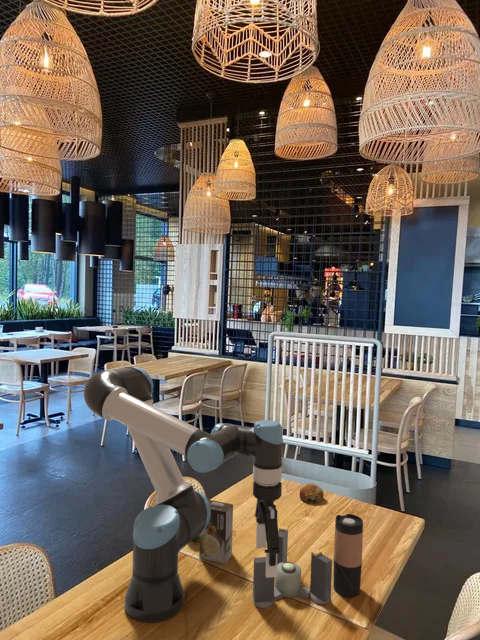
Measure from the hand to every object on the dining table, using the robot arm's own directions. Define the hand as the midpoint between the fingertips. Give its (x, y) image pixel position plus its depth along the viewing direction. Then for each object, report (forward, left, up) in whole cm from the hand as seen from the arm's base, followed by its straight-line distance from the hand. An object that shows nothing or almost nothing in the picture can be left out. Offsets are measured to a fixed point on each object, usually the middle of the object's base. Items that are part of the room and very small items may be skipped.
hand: (265, 561), depth 117 cm
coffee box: (-7, +25, -12) cm, 28 cm away
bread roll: (+42, +56, -12) cm, 71 cm away
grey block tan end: (+10, +12, -11) cm, 19 cm away
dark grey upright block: (0, 0, -11) cm, 11 cm away
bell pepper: (-10, +37, -12) cm, 40 cm away
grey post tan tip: (+15, -2, -11) cm, 19 cm away
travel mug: (+24, -1, -12) cm, 27 cm away
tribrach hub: (+8, +3, -11) cm, 14 cm away
